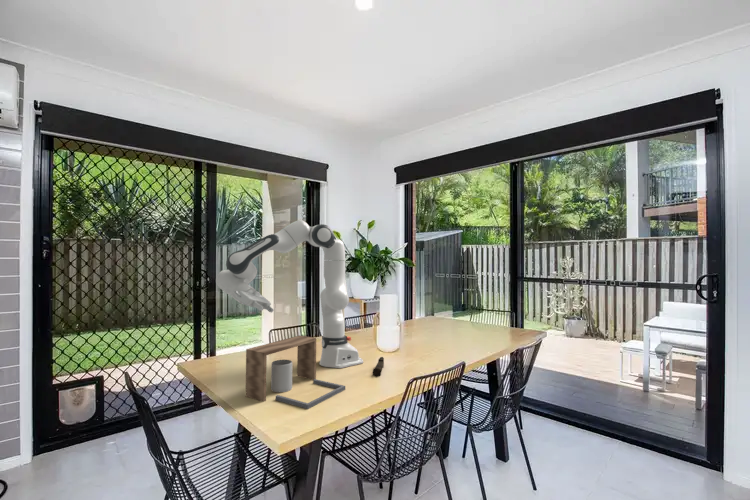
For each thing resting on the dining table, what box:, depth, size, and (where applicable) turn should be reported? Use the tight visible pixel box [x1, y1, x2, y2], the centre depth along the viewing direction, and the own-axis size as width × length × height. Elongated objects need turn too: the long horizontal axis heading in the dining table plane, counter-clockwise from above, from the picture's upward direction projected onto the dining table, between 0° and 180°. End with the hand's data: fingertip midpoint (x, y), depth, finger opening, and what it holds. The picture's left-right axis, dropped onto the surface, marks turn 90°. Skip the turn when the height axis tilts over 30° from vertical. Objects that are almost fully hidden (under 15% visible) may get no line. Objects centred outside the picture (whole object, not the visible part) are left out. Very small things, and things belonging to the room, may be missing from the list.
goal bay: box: [275, 378, 346, 410], centre depth 149 cm, size 16×23×2 cm
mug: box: [270, 359, 293, 393], centre depth 157 cm, size 12×8×11 cm
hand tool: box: [372, 356, 385, 377], centre depth 181 cm, size 19×4×5 cm, turn 169°
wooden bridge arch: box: [245, 335, 317, 403], centre depth 157 cm, size 10×30×18 cm, turn 149°
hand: (267, 310), depth 167 cm, fingers open, 8 cm apart
